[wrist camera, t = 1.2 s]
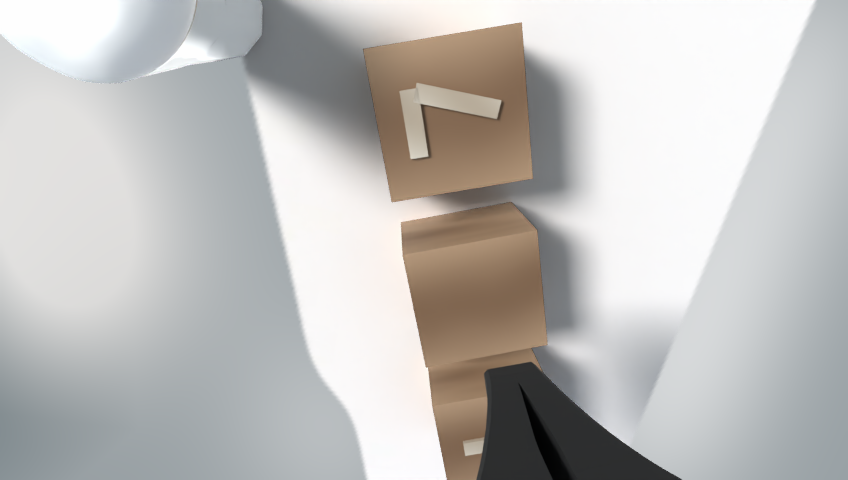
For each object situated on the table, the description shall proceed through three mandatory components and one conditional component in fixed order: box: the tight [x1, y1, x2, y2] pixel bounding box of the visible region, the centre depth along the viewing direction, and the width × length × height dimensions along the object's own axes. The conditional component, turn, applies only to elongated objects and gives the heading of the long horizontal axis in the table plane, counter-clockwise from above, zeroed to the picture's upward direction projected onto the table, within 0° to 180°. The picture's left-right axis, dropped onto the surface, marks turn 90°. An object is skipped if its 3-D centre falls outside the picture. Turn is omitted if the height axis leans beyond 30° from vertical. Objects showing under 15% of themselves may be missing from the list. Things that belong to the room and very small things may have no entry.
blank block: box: [401, 202, 548, 367], centre depth 19 cm, size 5×5×4 cm
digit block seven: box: [363, 22, 533, 202], centre depth 17 cm, size 5×5×4 cm
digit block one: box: [428, 348, 543, 480], centre depth 22 cm, size 5×5×4 cm
